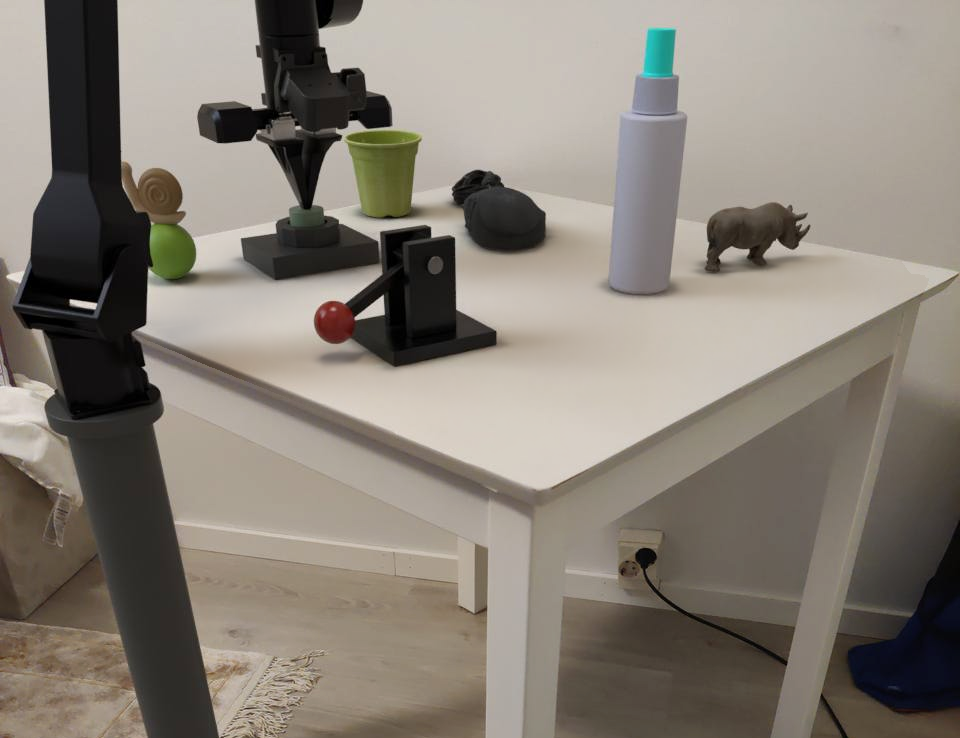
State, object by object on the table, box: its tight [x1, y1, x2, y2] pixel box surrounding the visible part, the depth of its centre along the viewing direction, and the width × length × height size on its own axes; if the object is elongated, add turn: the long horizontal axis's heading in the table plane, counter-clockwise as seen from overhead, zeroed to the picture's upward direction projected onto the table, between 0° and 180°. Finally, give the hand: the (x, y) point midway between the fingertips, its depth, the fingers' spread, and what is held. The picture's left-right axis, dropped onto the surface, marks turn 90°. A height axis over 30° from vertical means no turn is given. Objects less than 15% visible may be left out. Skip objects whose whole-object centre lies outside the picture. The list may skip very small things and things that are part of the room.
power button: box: [288, 204, 325, 227], centre depth 104 cm, size 4×4×2 cm
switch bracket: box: [350, 224, 498, 367], centre depth 84 cm, size 10×9×9 cm
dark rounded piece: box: [451, 169, 547, 251], centre depth 120 cm, size 10×32×6 cm, turn 8°
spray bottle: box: [608, 27, 688, 295], centre depth 92 cm, size 6×6×22 cm
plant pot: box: [343, 129, 423, 219], centre depth 121 cm, size 9×9×9 cm
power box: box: [240, 214, 381, 281], centre depth 105 cm, size 12×9×4 cm
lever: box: [313, 232, 432, 345], centre depth 82 cm, size 12×3×3 cm, turn 122°
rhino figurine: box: [703, 201, 811, 273], centre depth 104 cm, size 4×14×6 cm, turn 114°
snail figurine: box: [121, 161, 197, 280], centre depth 98 cm, size 5×6×12 cm
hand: (306, 208), depth 103 cm, fingers closed, pressing on power button
